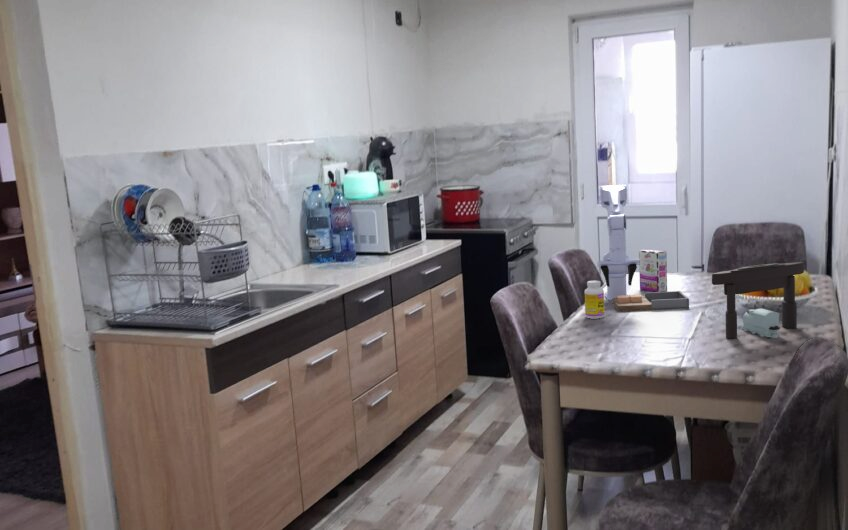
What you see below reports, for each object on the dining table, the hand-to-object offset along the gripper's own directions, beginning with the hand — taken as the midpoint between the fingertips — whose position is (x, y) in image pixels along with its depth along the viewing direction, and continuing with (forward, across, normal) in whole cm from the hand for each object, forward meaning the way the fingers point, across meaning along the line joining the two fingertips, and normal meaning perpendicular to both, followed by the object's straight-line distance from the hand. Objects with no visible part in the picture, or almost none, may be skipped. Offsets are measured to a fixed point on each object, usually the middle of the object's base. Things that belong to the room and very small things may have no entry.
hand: (618, 285), depth 277 cm
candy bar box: (+10, +19, +34) cm, 40 cm away
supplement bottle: (+10, -10, -6) cm, 15 cm away
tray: (+10, +18, +7) cm, 22 cm away
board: (+10, +6, +7) cm, 13 cm away
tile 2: (+8, +7, +7) cm, 13 cm away
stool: (+10, +36, -37) cm, 53 cm away
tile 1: (+8, +2, +8) cm, 11 cm away
